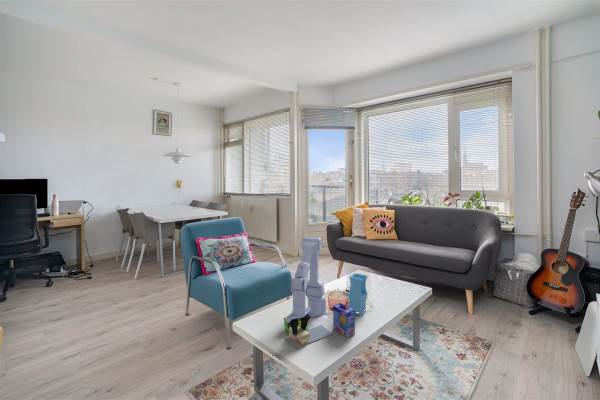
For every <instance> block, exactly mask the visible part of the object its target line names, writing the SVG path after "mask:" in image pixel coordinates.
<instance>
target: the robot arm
mask: <svg viewBox="0 0 600 400" xmlns="http://www.w3.org/2000/svg"><path fill="white" fill-rule="evenodd" d="M300 246H301V250H302V254H301V255H302V256H301V262H299V263H298V264H297V266H296V270H295V275H294V277H291V281H290V289H291V290H290V291H291V294H292V310H291V313H290V314H289V315H288V316H285V317H286V322H288V323H290V325H291V328H292V332H293V334H294V335H297V329H298V324H299V322H298V321H297V320H296V318H300V320H301V328H302V329H304V330H306V326H307V324H308V323H309V321H310V319H311V318H317V317H319V316H323V315H325V314H327V310H326V309H327V307H326V303H327V301H326V300H327V299H326V298H325V296H324V295H325V284H324V282H323V281H321V280H320V279H319V253H320V252H322V250H323V240H322V238H321V237H312V236H311V237H307V236H302V238H301V241H300ZM308 276H309V279H308ZM306 299H307V307H306ZM307 327H308V326H307Z"/></svg>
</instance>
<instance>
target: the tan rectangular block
mask: <svg viewBox="0 0 600 400" xmlns="http://www.w3.org/2000/svg"><path fill="white" fill-rule="evenodd" d="M288 336H289V337H291V338H292V339H294V340H295V341H297V342H298V343H300V344H305V343H307V342H309V337H310V333H309V332H307V331H306V330H304V329H302V328H300V327H299V326H298V329H297V335H294V334H293V332H292V328H291V327H290V328H289V332H288Z"/></svg>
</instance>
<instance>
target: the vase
mask: <svg viewBox="0 0 600 400" xmlns="http://www.w3.org/2000/svg"><path fill="white" fill-rule="evenodd" d="M367 278H368V275H366V274H362V273H358V272H354V273H352V274H350V275H349V280H350V281H349V283H350V287H349V291H348V294H347V298H348V301H349V302H348V304H349V305H348V307H350V308H352V309H354V310H355V315H357V316H362V315H364V314H365V313H366V312H367V305H366V304H367V298H368V291H367V288H366V287H367V286H366V282H367ZM365 309H366V310H365ZM364 310H365V311H364ZM356 312H359V313H356Z"/></svg>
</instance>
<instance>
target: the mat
mask: <svg viewBox="0 0 600 400" xmlns="http://www.w3.org/2000/svg"><path fill="white" fill-rule="evenodd" d="M307 329H308V328H307ZM307 332H309V333H310V337H309V342H307V343H305V344H300V343H298V342H297V341H295V340H294V339H292V338H291V337H289V335H287V336H285V337H284V339H285V341H287V342H288V343H289V344H290V346H292V347H293V348H294V349H295V350H296V349H299V348H302V347H304V346H307V345H309V344H312V343H314V342H317V341H320V340H323V339H325V338H328V337H331V336H333V335H334V333H333V332H332V331H330V330H329V329H327V328H326V327H324V325H322V324H321V325H317V326H314V327H311V328H309V329H308V331H307Z"/></svg>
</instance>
